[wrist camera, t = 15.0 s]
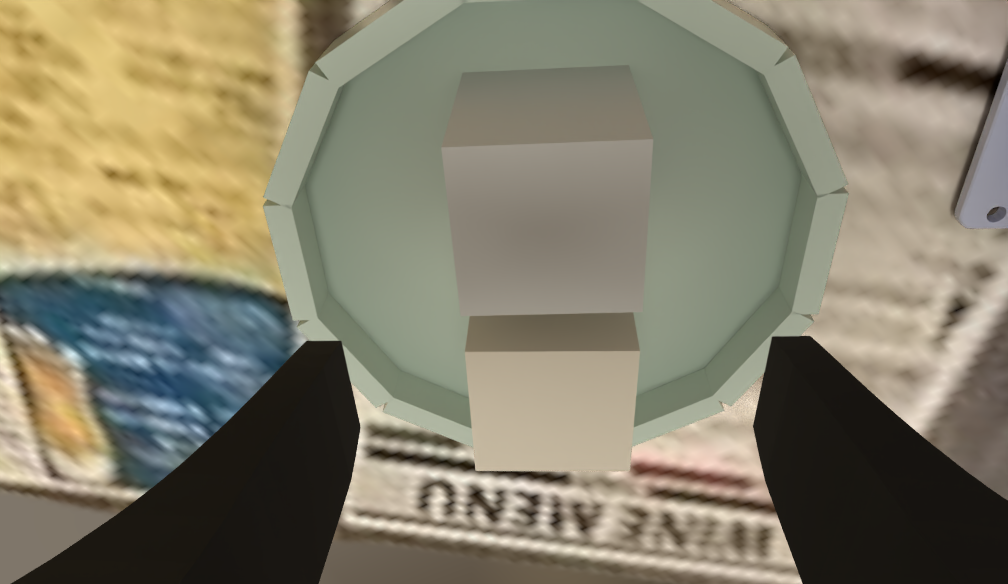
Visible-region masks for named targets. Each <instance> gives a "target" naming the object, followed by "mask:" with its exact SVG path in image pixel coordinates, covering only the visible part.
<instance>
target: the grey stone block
mask: <svg viewBox="0 0 1008 584" xmlns="http://www.w3.org/2000/svg"><path fill="white" fill-rule="evenodd" d="M441 150H442V158H443V167H444V176H445V185H446V193H447V202H448V211H449V219H450V228H451V237H452V245H453V254H454V263H455V271H456V280H457V289H458V297H459V306H460V315H461V316H493V315H537V314H581V313H625V312H643V297H644V281H645V265H646V249H647V233H648V217H649V201H650V185H651V169H652V153H653V137H652V134H651V131H650V128H649V125H648V122H647V119H646V116H645V113H644V110H643V107H642V104H641V101H640V98H639V94H638V91H637V88H636V85H635V82H634V79H633V76H632V73H631V70H630V67H629V65H617V66H595V67H574V68H552V69H530V70H508V71H486V72H464V73H462V76H461V80H460V83H459V87H458V90H457V94H456V97H455V101H454V104H453V108H452V111H451V115H450V118H449V122H448V125H447V129H446V132H445V136H444V139H443V143H442V147H441Z"/></svg>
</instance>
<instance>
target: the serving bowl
mask: <svg viewBox="0 0 1008 584" xmlns="http://www.w3.org/2000/svg"><path fill="white" fill-rule="evenodd" d="M617 65H629V67H630V70H631V73H632V76H633V79H634V82H635V85H636V88H637V91H638V94H639V98H640V101H641V104H642V107H643V110H644V113H645V116H646V119H647V122H648V125H649V128H650V131H651V134H652V137H653V153H652V169H651V185H650V201H649V217H648V233H647V249H646V265H645V281H644V297H643V312H633V315H634V320H635V326H636V331H637V337H638V342H639V348H640V358H639V370H638V382H637V393H636V405H635V417H634V428H633V440H632V447H633V446H635V445H638V444H640V443H643V442H646V441H648V440H651V439H653V438H656V437H658V436H661V435H663V434H666V433H669V432H671V431H674V430H676V429H679V428H681V427H684V426H687V425H689V424H692V423H694V422H697V421H699V420H702V419H704V418H707V417H710V416H712V415H715V414H717V413H720V412H722V411H724V408H723V404H722V402H723V403H725V404H727V405H729V406H732V405H733V404H734V403H735V402H736V401H737V400H738V399H739V398H740V397H741V396H742V395H743V394H744V393H745V392H746V391H747V390H748V389H749V388H750V387H751V386H752V385H753V384H754V383H755V382H756V380H757V379H758V378H759V377H760V376H761V375H762V374H763V373H764V372H765V367H766V363H767V358H768V353H769V348H770V344H771V339H772V336H801V334H802V333H803V332H804V331H805V330H806V329H807V328H808V327H809V326H810V325H811V324H812V323H813V322H814V320H813V318H812V316H811V314H819V310H820V306H821V302H822V298H823V294H824V290H825V286H826V282H827V278H828V274H829V270H830V266H831V262H832V258H833V254H834V250H835V246H836V242H837V238H838V234H839V230H840V227H841V223H842V219H843V215H844V211H845V207H846V203H847V199H848V195H849V193H848V192H847V191H846V189H845V188H844V186H846V185H848V182H847V180H846V178H845V175H844V173H843V170H842V168H841V165H840V163H839V160H838V158H837V156H836V153H835V151H834V148H833V146H832V143H831V141H830V138H829V136H828V134H827V131H826V129H825V126H824V124H823V121H822V119H821V116H820V114H819V112H818V109H817V107H816V104H815V102H814V99H813V97H812V95H811V92H810V90H809V87H808V85H807V82H806V80H805V77H804V75H803V73H802V70H801V68H800V65H799V63H798V60H797V58H796V55H795V54H794V53H793V52H792V51H791V50H790V49H789V48H788V46H787V45H786V44H785V43H784V42H783V41H782V40H781V39H780V38H779V37H778V36H777V35H776V34H775V33H774V32H773V31H772V30H771V29H770V28H769V27H768V26H767V25H766V24H764V23H762V22H761V21H759V20H757V19H756V18H754V17H753V16H751V15H749V14H748V13H746V12H744V11H743V10H741V9H739V8H738V7H736V6H734V5H733V4H731V3H729V2H728V1H726V0H390V1H389V2H387V3H386V4H385V5H383V6H382V7H380V8H379V9H378V10H376V11H375V12H373V13H372V14H371V15H369V16H368V17H366V18H365V19H363V20H362V21H361V22H359V23H358V24H356V25H355V26H354V27H352V28H351V29H349V30H348V31H347V32H345V33H344V34H342V35H341V36H339V37H338V38H337V39H335V40H334V41H333V42H332V43H331V45H330V46H329V47H328V48H327V49H326V51H325V52H324V53H323V54H322V55H321V56H320V58H319V59H318V60H317V61H316V62H315V64H314V65H313V67H312V68H311V69H310V70H309V72H308V75H307V78H306V81H305V83H304V86H303V89H302V92H301V94H300V97H299V100H298V103H297V105H296V108H295V111H294V114H293V116H292V119H291V122H290V125H289V127H288V130H287V133H286V136H285V138H284V141H283V144H282V147H281V150H280V152H279V155H278V158H277V161H276V163H275V166H274V169H273V172H272V174H271V177H270V180H269V183H268V185H267V188H266V191H265V194H264V196H263V197H264V198H266V199H267V201H266V202H265V204H264V205H263V208H264V212H265V216H266V220H267V223H268V227H269V231H270V235H271V239H272V242H273V246H274V250H275V254H276V258H277V261H278V265H279V269H280V273H281V277H282V280H283V284H284V288H285V292H286V296H287V299H288V303H289V307H290V311H291V315H292V318H293V320H300V322H299V324H298V326H297V328H298V329H299V330H300V331H301V332H302V333H303V334H304V335H305V336H306V337H307V338H308V339H309V340H310V341H342V345H343V350H344V355H345V359H346V364H347V368H348V373H349V377H350V382H351V383H352V384H353V385H354V386H355V387H356V388H357V389H358V390H359V391H360V392H361V393H362V394H363V395H364V396H365V397H366V398H367V399H368V400H369V401H370V402H371V403H372V404H373V405H374V406H375V407H376V408H377V407H379V406H381V405H383V404H384V408H383V412H384V413H386V414H389V415H391V416H394V417H397V418H399V419H402V420H404V421H407V422H409V423H412V424H415V425H417V426H420V427H422V428H425V429H427V430H430V431H432V432H435V433H438V434H440V435H443V436H445V437H448V438H450V439H453V440H455V441H458V442H461V443H463V444H466V445H468V446H471V447H473V436H472V425H471V414H470V403H469V393H468V382H467V371H466V360H465V347H466V339H467V332H468V325H469V317H470V316H461V315H460V306H459V297H458V289H457V280H456V271H455V263H454V254H453V245H452V237H451V228H450V219H449V211H448V202H447V193H446V185H445V176H444V167H443V158H442V150H441V147H442V143H443V139H444V136H445V132H446V129H447V125H448V122H449V118H450V115H451V111H452V108H453V104H454V101H455V97H456V94H457V90H458V87H459V83H460V80H461V76H462V73H464V72H486V71H508V70H530V69H552V68H574V67H595V66H617ZM473 448H474V447H473Z"/></svg>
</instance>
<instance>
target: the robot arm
mask: <svg viewBox="0 0 1008 584" xmlns="http://www.w3.org/2000/svg"><path fill="white" fill-rule="evenodd" d="M998 206H999V208H998V210H997V211H996V212H995V213H994V214H992V215H989V216H987V214H988V212H989V211H990V210H991V209H993V208H994V207H998ZM955 217H956V220H957V221H958V222H959V223H960V224H961V225H963V226H964V227H965V228H970V229H995V228H1008V60H1007V62H1006V65H1005V68H1004V71H1003V74H1002V77H1001V80H1000V82H999V85H998V88H997V91H996V94H995V97H994V100H993V103H992V105H991V108H990V111H989V114H988V117H987V120H986V123H985V125H984V128H983V131H982V134H981V137H980V140H979V143H978V146H977V148H976V151H975V154H974V157H973V160H972V163H971V166H970V168H969V171H968V174H967V177H966V180H965V183H964V186H963V189H962V191H961V194H960V197H959V200H958V203H957V206H956V209H955ZM753 428H754V433H755V437H756V442H757V447H758V452H759V456H760V461H761V465H762V469H763V473H764V477H765V482H766V484H767V487H768V490H769V493H770V496H771V499H772V501H773V504H774V507H775V510H776V512H777V515H778V518H779V521H780V523H781V526H782V529H783V532H784V534H785V537H786V540H787V542H788V545H789V548H790V550H791V553H792V556H793V559H794V561H795V564H796V567H797V569H798V572H799V575H800V577H801V580H802V583H803V584H1008V501H1007V500H1006V499H1004V498H1003V497H1001V496H1000V495H999V494H997V493H996V492H994V491H993V490H991V489H990V488H988V487H987V486H986V485H984V484H983V483H981V482H980V481H979V480H977V479H976V478H975V477H973V476H972V475H971V474H969V473H968V472H967V471H965V470H964V469H963V468H961V467H960V466H959V465H957V464H956V463H955V462H954V461H952V460H951V459H950V458H949V457H947V456H946V455H945V454H944V453H942V452H941V451H940V450H938V449H937V448H936V447H935V446H933V445H932V444H931V443H930V442H928V441H927V440H926V439H925V438H923V437H922V436H921V435H920V434H919V433H917V432H916V431H915V430H914V429H913V428H911V427H910V426H909V425H908V424H907V423H906V422H904V421H903V420H902V419H901V418H900V417H899V416H897V415H896V414H895V413H894V412H893V411H892V410H891V409H889V408H888V407H887V406H886V405H885V404H884V403H883V402H882V401H880V400H879V399H878V398H877V397H876V396H875V395H874V394H873V393H872V392H870V391H869V390H868V389H867V388H866V387H865V386H864V385H863V384H862V383H861V382H860V381H858V380H857V379H856V378H855V377H854V376H853V375H852V374H851V373H850V372H849V371H848V370H847V369H845V368H844V367H843V366H842V365H841V364H840V363H839V362H838V361H837V360H836V359H835V358H834V357H833V356H832V355H830V354H829V353H828V352H827V351H826V350H825V349H824V348H823V347H822V346H821V345H820V344H818V343H817V342H816V341H815V340H814V339H813V338H812V337H811V336H772V339H771V344H770V348H769V353H768V358H767V363H766V367H765V372H764V377H763V382H762V386H761V391H760V396H759V401H758V405H757V410H756V415H755V420H754V425H753ZM359 433H360V423H359V418H358V414H357V409H356V405H355V400H354V396H353V391H352V386H351V382H350V377H349V373H348V368H347V364H346V359H345V355H344V350H343V345H342V341H306V342H305V343H304V344H303V345H302V346H301V347H300V348H299V349H298V350H297V351H296V352H295V353H294V354H293V355H292V356H291V357H290V358H289V359H288V360H287V361H286V362H285V363H284V364H283V365H282V367H281V368H280V369H279V370H278V371H277V372H276V373H275V374H274V375H273V376H272V377H271V378H270V379H269V380H268V381H267V382H266V383H265V384H264V385H263V386H262V387H261V388H260V389H259V390H258V391H257V393H256V394H255V395H254V396H253V397H252V398H251V399H250V400H249V401H248V402H247V403H246V404H245V405H244V406H243V407H242V408H241V409H240V410H239V411H238V412H237V413H236V414H235V415H234V416H233V417H232V418H231V419H230V420H229V421H228V422H227V423H226V424H224V425H223V426H222V427H221V428H220V429H219V430H218V431H217V432H216V433H215V434H214V435H213V436H211V437H210V438H209V439H208V440H207V441H206V442H205V443H204V444H203V445H202V446H201V447H199V448H198V449H197V450H196V451H195V452H194V453H193V454H192V455H191V456H190V457H188V458H187V459H186V460H185V461H184V462H183V463H182V464H181V465H179V466H178V467H177V468H176V469H175V470H174V471H172V472H171V473H170V474H169V475H168V476H166V477H165V478H164V479H163V480H161V481H160V482H159V483H158V484H156V485H155V486H154V487H153V488H151V489H150V490H149V491H147V492H146V493H145V494H144V495H142V496H141V497H140V498H138V499H137V500H136V501H134V502H133V503H132V504H131V505H129V506H128V507H127V508H125V509H124V510H123V511H121V512H120V513H118V514H117V515H116V516H114V517H113V518H111V519H110V520H109V521H107V522H106V523H104V524H103V525H101V526H100V527H98V528H97V529H95V530H94V531H92V532H91V533H89V534H88V535H86V536H85V537H84V538H82V539H81V540H79V541H78V542H76V543H75V544H73V545H72V546H70V547H69V548H67V549H66V550H64V551H63V552H61V553H60V554H58V555H57V556H55V557H54V558H52V559H51V560H49V561H47V562H46V563H44V564H43V565H41V566H40V567H38V568H36V569H35V570H33V571H31V572H30V573H28V574H26V575H25V576H23V577H21V578H20V579H18V580H16V581H15V582H13V583H11V584H318V583H319V581H320V577H321V574H322V571H323V568H324V565H325V562H326V559H327V555H328V552H329V549H330V546H331V543H332V540H333V537H334V534H335V530H336V527H337V524H338V521H339V518H340V515H341V511H342V508H343V505H344V502H345V499H346V495H347V492H348V489H349V485H350V482H351V478H352V472H353V467H354V462H355V457H356V451H357V445H358V439H359Z"/></svg>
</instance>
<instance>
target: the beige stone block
mask: <svg viewBox="0 0 1008 584" xmlns="http://www.w3.org/2000/svg"><path fill="white" fill-rule="evenodd" d="M639 358H640V348H639V342H638V337H637V331H636V326H635V320H634V315H633V312H625V313H581V314H537V315H493V316H470V317H469V325H468V332H467V339H466V347H465V360H466V371H467V382H468V393H469V403H470V414H471V425H472V436H473V447H474V458H475V469H476V471H630V464H631V452H632V440H633V428H634V417H635V405H636V393H637V382H638V370H639Z"/></svg>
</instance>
